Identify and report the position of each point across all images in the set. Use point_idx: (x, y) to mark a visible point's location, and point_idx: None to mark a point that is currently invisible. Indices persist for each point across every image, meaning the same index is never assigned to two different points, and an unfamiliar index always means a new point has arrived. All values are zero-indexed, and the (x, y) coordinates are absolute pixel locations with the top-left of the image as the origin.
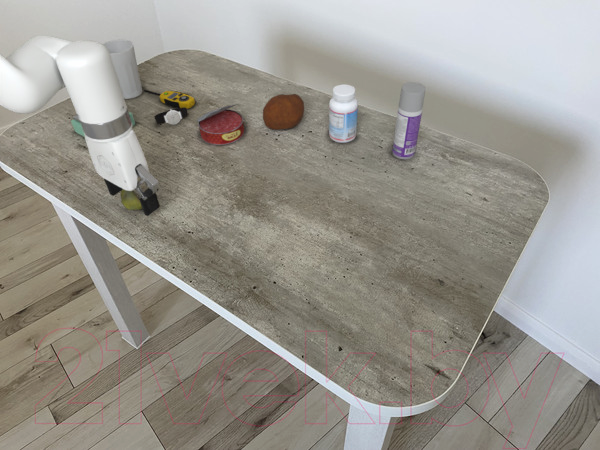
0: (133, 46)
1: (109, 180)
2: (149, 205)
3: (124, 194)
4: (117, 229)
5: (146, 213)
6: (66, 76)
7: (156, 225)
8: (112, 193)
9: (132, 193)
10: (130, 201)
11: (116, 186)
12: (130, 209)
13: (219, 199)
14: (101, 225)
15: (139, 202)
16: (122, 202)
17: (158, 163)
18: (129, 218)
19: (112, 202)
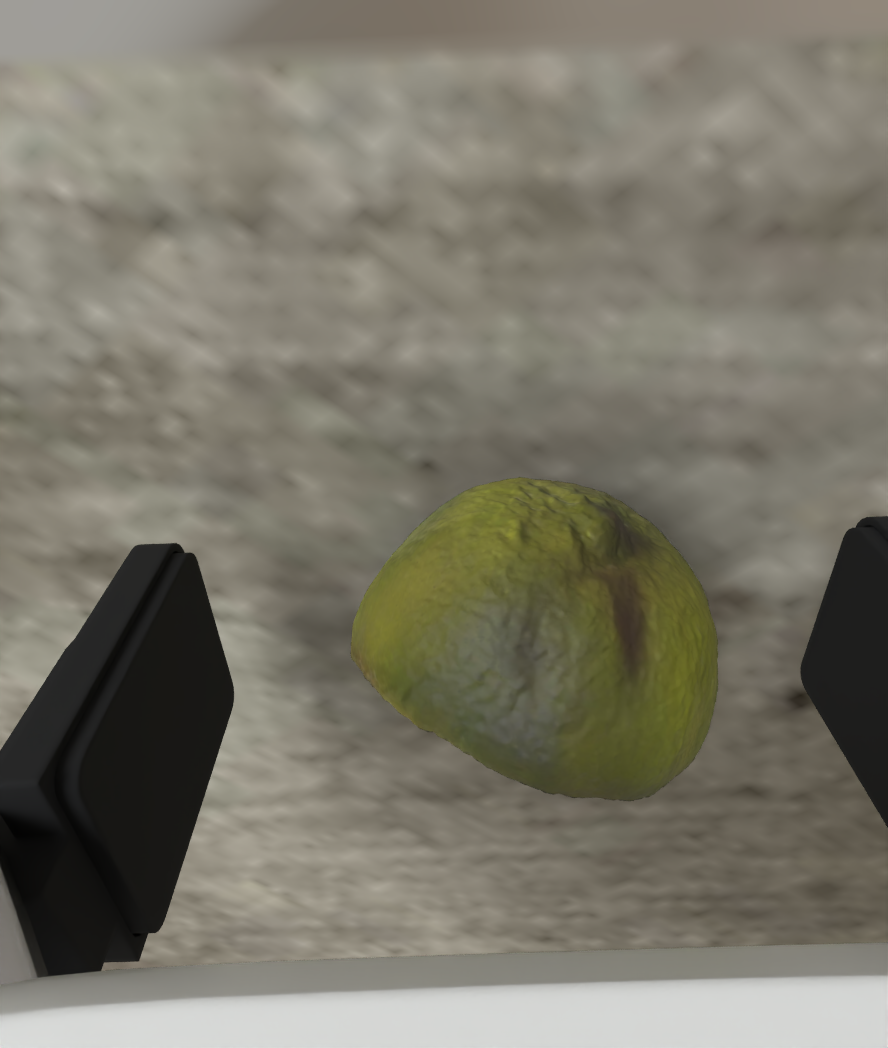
0: None
1: (822, 1033)
2: (22, 718)
3: (555, 664)
4: (394, 156)
5: (127, 573)
6: None
7: (109, 499)
8: (873, 548)
9: (448, 738)
10: (419, 607)
11: (879, 667)
12: (459, 495)
13: None
14: (670, 43)
15: (353, 645)
16: (577, 523)
17: (783, 900)
18: (444, 392)
19: (849, 440)
